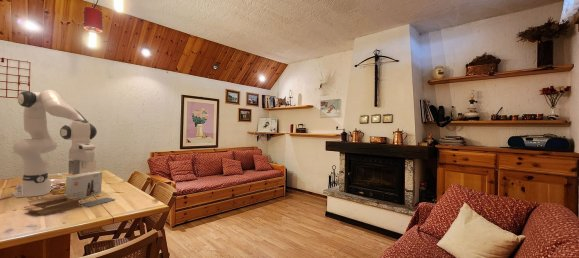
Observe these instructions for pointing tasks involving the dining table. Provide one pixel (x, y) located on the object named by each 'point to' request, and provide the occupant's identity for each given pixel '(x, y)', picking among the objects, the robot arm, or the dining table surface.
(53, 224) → the dining table surface
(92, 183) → the skincare box
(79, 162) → the box
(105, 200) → the felt mat
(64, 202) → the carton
